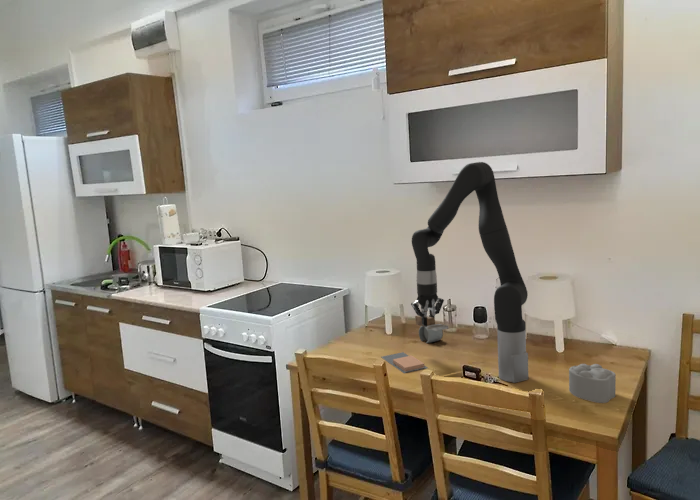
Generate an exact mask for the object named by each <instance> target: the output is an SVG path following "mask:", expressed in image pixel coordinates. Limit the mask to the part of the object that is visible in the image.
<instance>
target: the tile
mask: <svg viewBox="0 0 700 500" xmlns="http://www.w3.org/2000/svg"><path fill="white" fill-rule="evenodd" d="M393 364H395V365H396V366H397V367H399V368H400V369H402V370H403V371H405V372H407V371H412V370H416V369H421V368H425V366H426V365H425V363H424V362H423V361H421V360H419V359H418V358H416V357H415V356H413V355H408V356H407V357H402V358H397V359H393Z"/></svg>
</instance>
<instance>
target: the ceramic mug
mask: <svg viewBox="0 0 700 500" xmlns="http://www.w3.org/2000/svg"><path fill="white" fill-rule="evenodd" d="M418 336H419V339H420V341H421V342H423V341H426V342H425V344H430V343H434V342H439V341H440V340H442V339H443V336H444V329H443V330H438V331H435V330H431V329H427V327H424V326H419V329H418Z"/></svg>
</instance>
